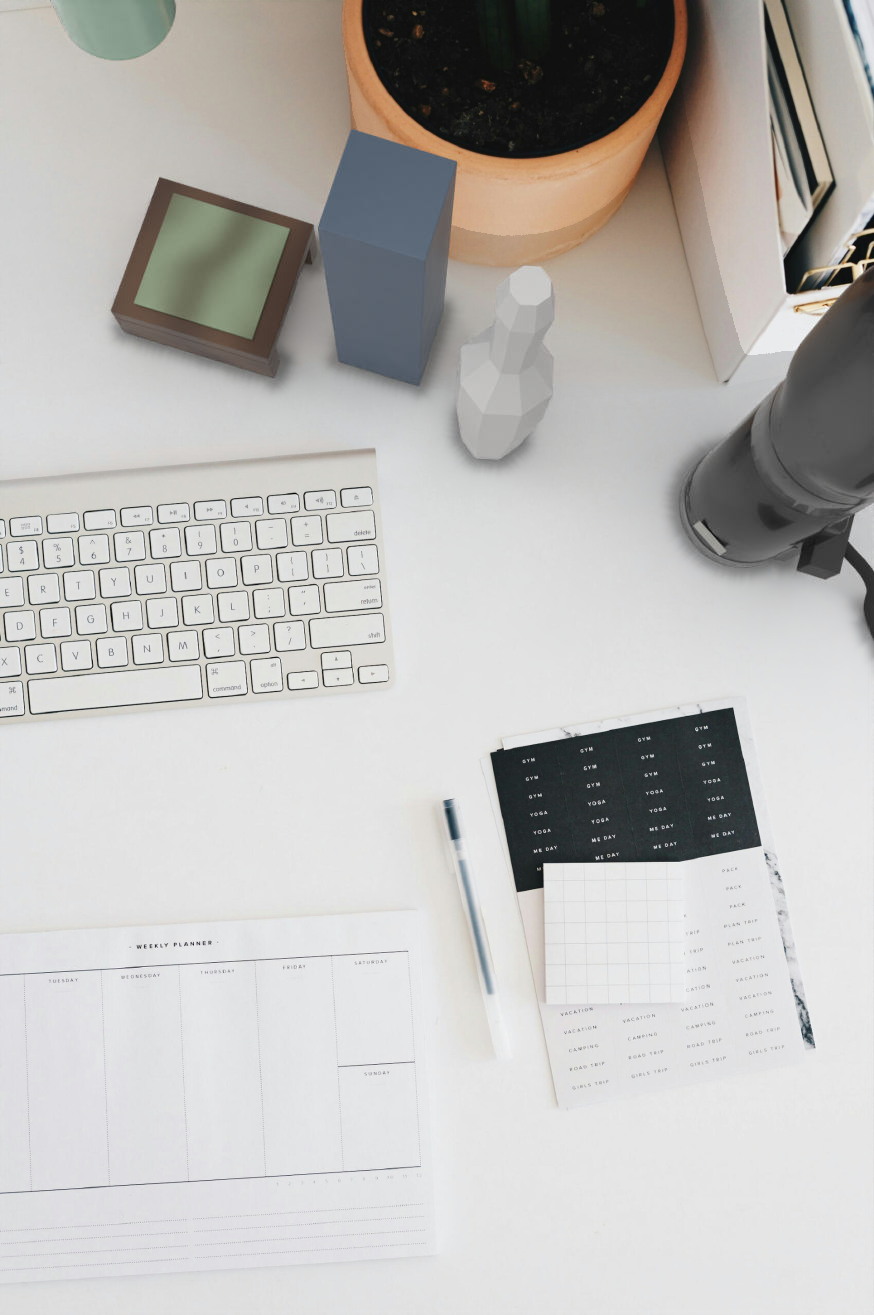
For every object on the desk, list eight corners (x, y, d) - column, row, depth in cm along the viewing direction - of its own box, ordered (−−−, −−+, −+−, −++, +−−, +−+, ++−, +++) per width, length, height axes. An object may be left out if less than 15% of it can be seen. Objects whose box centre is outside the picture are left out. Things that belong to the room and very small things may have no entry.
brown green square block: (318, 249, 72) (313, 222, 68) (274, 378, 70) (267, 357, 67) (170, 203, 72) (158, 174, 68) (124, 332, 70) (109, 309, 67)
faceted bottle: (541, 458, 71) (605, 324, 49) (462, 481, 70) (491, 356, 48) (517, 382, 71) (568, 215, 49) (438, 404, 71) (455, 246, 49)
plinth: (443, 309, 72) (457, 160, 54) (419, 386, 71) (425, 260, 53) (363, 285, 71) (351, 127, 54) (338, 361, 71) (317, 227, 53)
